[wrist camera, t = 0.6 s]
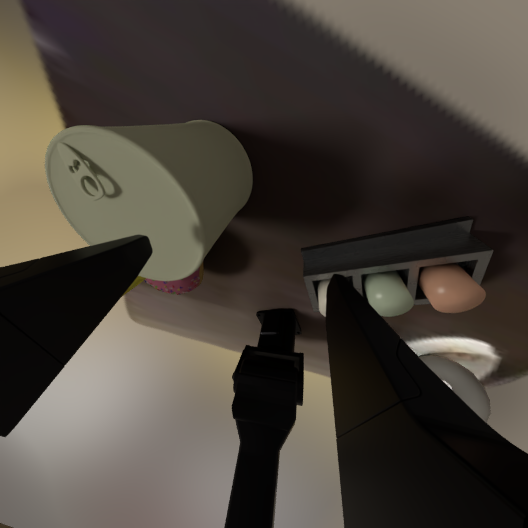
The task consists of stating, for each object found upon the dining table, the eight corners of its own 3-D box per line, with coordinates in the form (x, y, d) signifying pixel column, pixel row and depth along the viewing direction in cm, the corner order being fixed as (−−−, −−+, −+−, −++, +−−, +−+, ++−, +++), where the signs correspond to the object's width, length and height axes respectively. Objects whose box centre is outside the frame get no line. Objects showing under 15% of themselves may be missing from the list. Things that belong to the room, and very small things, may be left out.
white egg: (350, 294, 23) (356, 318, 20) (320, 297, 24) (322, 320, 21) (347, 272, 21) (353, 295, 18) (315, 276, 22) (316, 299, 19)
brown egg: (455, 284, 19) (479, 311, 17) (413, 288, 21) (429, 314, 18) (463, 256, 17) (491, 282, 15) (416, 263, 19) (435, 287, 16)
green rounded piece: (398, 289, 21) (412, 315, 18) (363, 293, 22) (371, 317, 20) (400, 265, 19) (415, 289, 16) (361, 270, 20) (369, 293, 18)
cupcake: (146, 218, 25) (48, 279, 15) (205, 214, 23) (134, 282, 13) (173, 268, 30) (113, 338, 20) (223, 269, 28) (181, 346, 18)
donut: (398, 367, 35) (423, 438, 27) (388, 359, 34) (411, 430, 26) (464, 354, 29) (519, 438, 22) (454, 343, 28) (508, 428, 21)
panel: (449, 284, 22) (470, 309, 20) (315, 297, 28) (315, 318, 25) (468, 216, 18) (499, 235, 15) (301, 248, 23) (300, 267, 20)
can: (221, 96, 16) (94, 66, 6) (267, 199, 20) (233, 270, 11) (150, 149, 19) (2, 180, 10) (202, 226, 24) (135, 296, 15)
